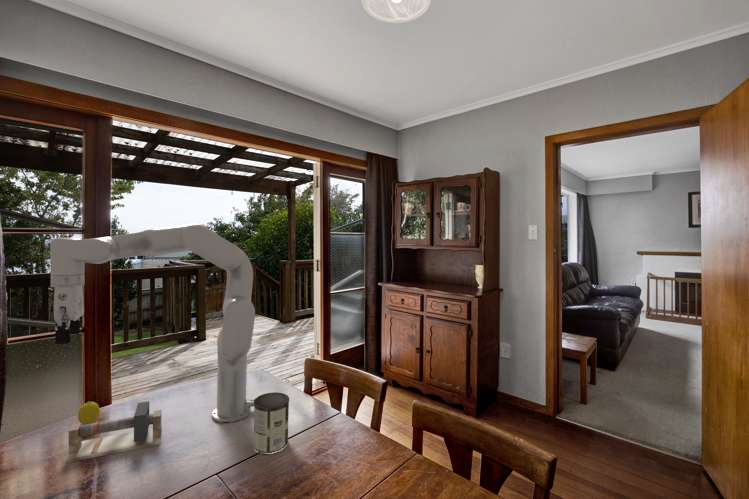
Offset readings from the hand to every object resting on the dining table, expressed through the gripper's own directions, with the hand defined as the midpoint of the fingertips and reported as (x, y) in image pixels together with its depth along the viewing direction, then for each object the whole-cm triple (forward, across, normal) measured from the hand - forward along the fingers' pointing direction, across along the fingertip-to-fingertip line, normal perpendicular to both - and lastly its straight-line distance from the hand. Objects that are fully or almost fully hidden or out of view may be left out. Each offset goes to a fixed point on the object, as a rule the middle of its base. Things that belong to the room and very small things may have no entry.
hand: (68, 338), depth 107 cm
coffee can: (+32, -24, -54) cm, 67 cm away
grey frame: (+29, -6, -19) cm, 35 cm away
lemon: (+31, +9, -3) cm, 33 cm away
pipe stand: (+31, -6, -13) cm, 34 cm away
